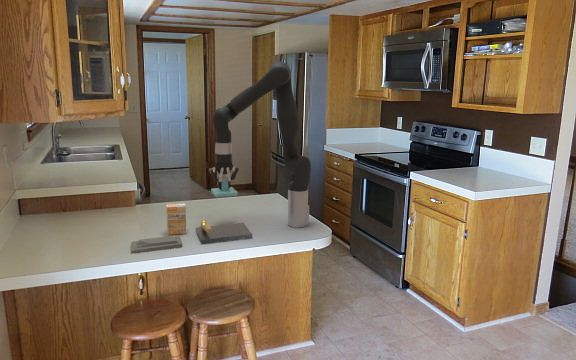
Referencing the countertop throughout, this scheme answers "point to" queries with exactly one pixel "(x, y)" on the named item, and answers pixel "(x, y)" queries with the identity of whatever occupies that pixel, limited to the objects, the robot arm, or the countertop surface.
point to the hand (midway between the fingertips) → (224, 189)
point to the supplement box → (176, 219)
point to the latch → (205, 226)
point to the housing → (224, 233)
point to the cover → (224, 190)
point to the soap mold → (156, 244)
